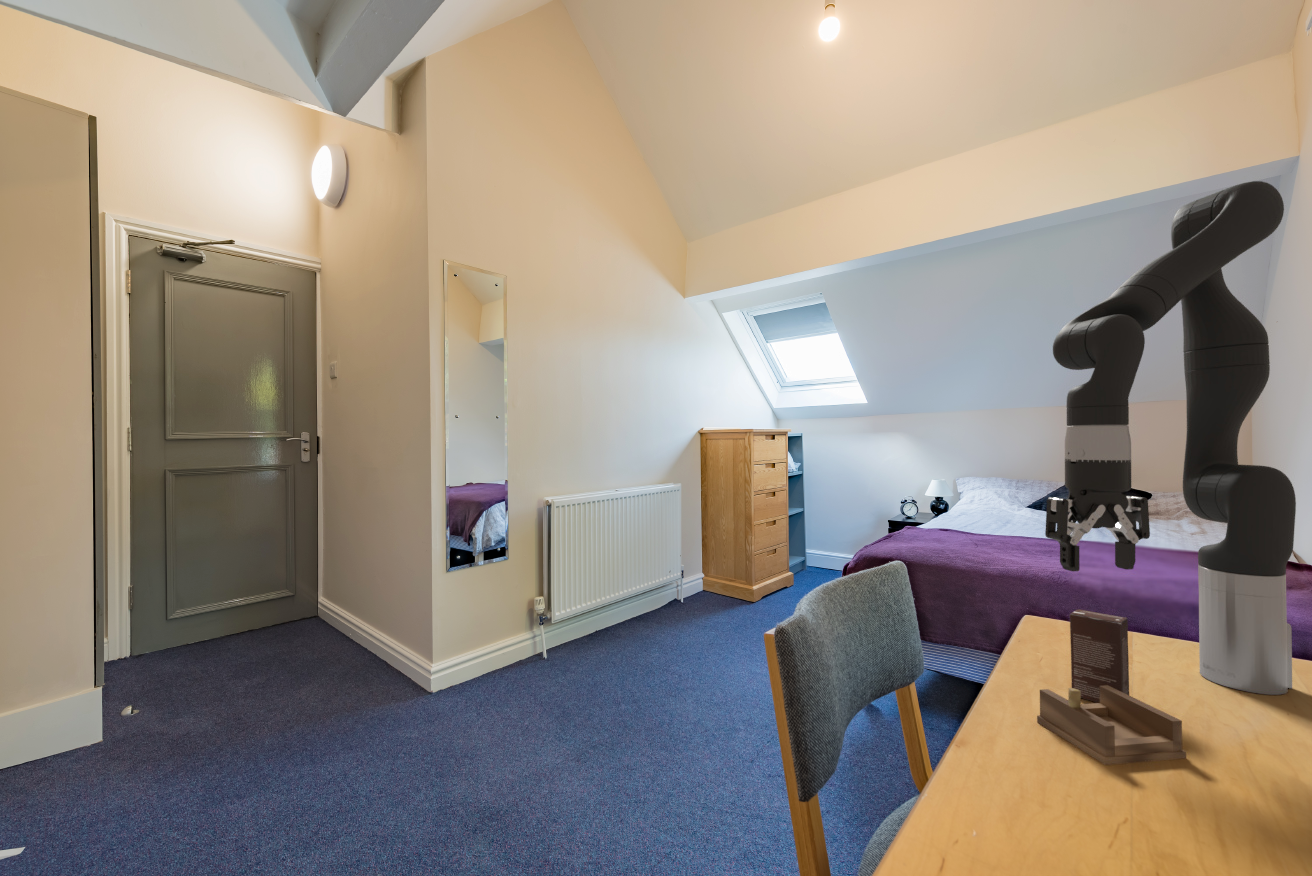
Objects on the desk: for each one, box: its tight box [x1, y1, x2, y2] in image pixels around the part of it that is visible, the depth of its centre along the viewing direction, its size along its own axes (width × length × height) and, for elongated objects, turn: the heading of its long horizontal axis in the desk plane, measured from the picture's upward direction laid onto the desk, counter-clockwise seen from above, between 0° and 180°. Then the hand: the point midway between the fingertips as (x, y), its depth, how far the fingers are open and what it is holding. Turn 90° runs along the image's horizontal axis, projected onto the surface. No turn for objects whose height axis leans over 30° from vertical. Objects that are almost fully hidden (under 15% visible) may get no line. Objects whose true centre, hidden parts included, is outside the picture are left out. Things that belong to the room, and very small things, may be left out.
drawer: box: [1036, 685, 1187, 766], centre depth 69 cm, size 10×10×6 cm
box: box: [1069, 608, 1130, 703], centre depth 80 cm, size 6×4×12 cm
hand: (1097, 569), depth 80 cm, fingers open, 8 cm apart
